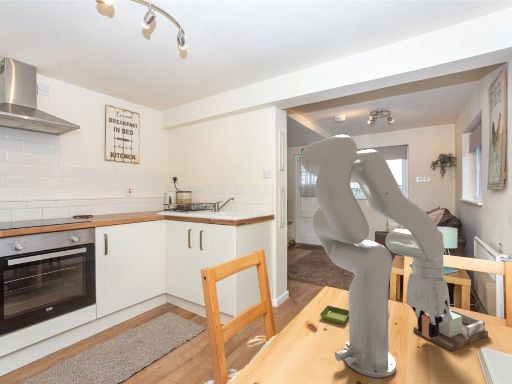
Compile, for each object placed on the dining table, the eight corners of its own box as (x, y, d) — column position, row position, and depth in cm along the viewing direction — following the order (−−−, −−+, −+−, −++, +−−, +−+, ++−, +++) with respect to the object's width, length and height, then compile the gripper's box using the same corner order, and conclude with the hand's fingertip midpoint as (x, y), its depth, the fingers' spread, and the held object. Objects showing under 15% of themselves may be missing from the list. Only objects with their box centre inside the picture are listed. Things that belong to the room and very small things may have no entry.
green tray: (319, 320, 90) (319, 314, 90) (327, 310, 97) (327, 304, 97) (344, 327, 85) (344, 321, 85) (351, 316, 92) (351, 310, 92)
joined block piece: (436, 342, 72) (436, 321, 72) (415, 332, 78) (415, 312, 78) (462, 332, 77) (461, 312, 77) (440, 323, 82) (440, 304, 82)
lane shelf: (451, 351, 71) (451, 337, 71) (413, 331, 81) (413, 318, 81) (488, 336, 78) (487, 322, 78) (448, 319, 88) (448, 308, 88)
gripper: (394, 265, 81) (394, 323, 81) (449, 281, 66) (450, 352, 66) (410, 262, 84) (410, 318, 84) (466, 277, 69) (467, 345, 69)
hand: (428, 333), depth 75 cm, fingers closed on joined block piece, 2 cm apart
